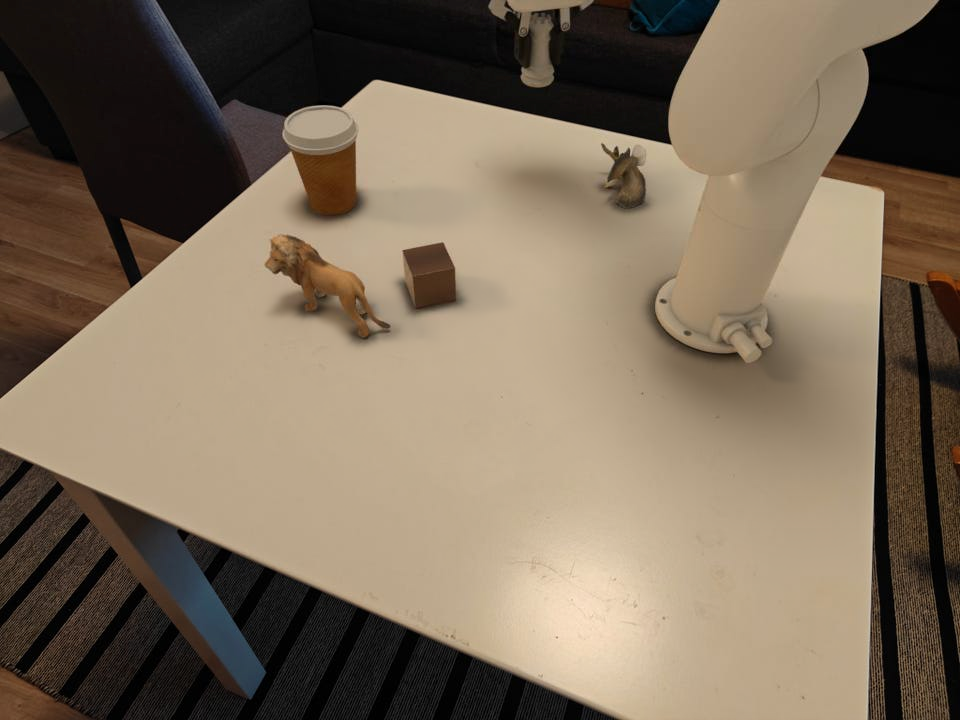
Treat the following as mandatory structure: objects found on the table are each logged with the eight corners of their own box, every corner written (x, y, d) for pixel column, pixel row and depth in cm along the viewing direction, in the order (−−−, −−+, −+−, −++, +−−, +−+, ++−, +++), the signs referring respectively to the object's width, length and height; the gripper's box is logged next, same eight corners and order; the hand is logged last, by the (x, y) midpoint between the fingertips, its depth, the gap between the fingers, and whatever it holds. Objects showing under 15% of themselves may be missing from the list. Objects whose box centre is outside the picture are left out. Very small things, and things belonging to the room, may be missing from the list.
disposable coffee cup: (378, 189, 93) (368, 109, 84) (351, 227, 87) (338, 145, 78) (317, 178, 94) (301, 99, 85) (286, 215, 88) (266, 134, 79)
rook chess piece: (515, 76, 87) (518, 12, 81) (546, 72, 88) (551, 8, 82) (526, 90, 84) (530, 25, 78) (558, 85, 85) (564, 21, 79)
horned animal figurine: (583, 166, 95) (593, 190, 88) (615, 124, 92) (628, 146, 85) (622, 192, 98) (635, 218, 91) (654, 153, 94) (670, 177, 87)
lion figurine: (270, 307, 76) (251, 246, 69) (297, 280, 79) (281, 219, 73) (379, 345, 72) (370, 284, 65) (402, 315, 75) (396, 254, 69)
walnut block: (456, 300, 77) (455, 267, 73) (415, 308, 76) (412, 276, 72) (444, 274, 80) (443, 241, 77) (405, 282, 79) (402, 249, 76)
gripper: (488, -95, 67) (486, 82, 80) (633, -107, 70) (608, 65, 83) (467, -111, 72) (469, 59, 85) (603, -121, 75) (584, 43, 88)
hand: (538, 60), depth 84 cm, fingers closed on rook chess piece, 3 cm apart
